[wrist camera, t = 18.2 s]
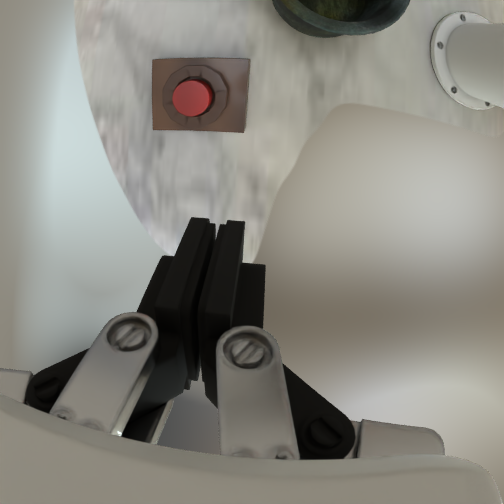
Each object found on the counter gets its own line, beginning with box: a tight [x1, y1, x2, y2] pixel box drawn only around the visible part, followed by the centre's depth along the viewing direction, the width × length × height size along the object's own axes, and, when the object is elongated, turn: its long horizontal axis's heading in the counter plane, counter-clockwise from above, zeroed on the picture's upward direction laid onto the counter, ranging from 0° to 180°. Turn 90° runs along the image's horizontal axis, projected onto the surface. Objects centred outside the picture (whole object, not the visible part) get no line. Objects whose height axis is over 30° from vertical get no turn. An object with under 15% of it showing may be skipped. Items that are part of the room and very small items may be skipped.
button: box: [172, 79, 212, 116], centre depth 28 cm, size 4×4×2 cm
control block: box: [152, 58, 250, 133], centre depth 30 cm, size 10×8×4 cm
